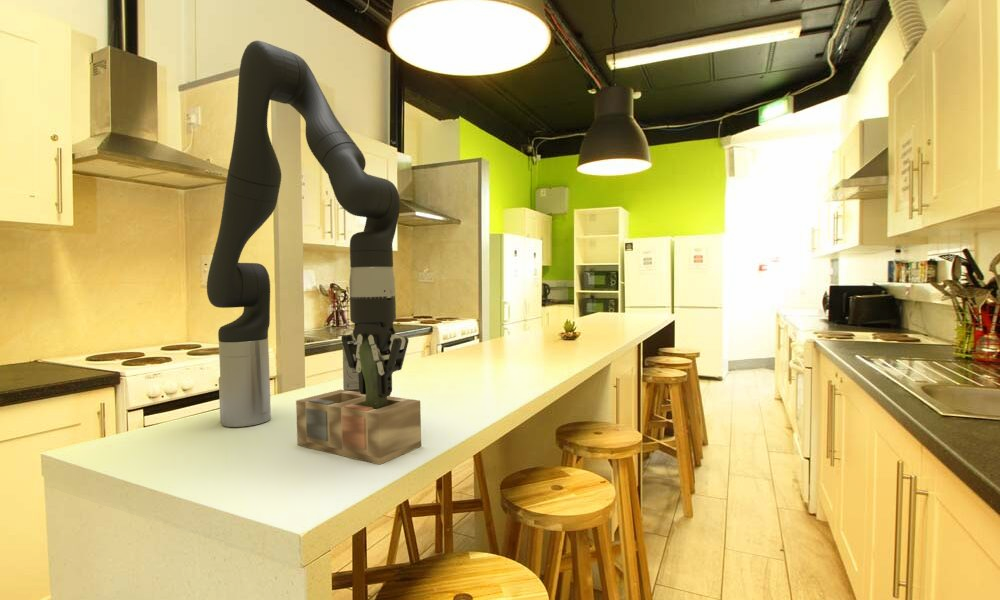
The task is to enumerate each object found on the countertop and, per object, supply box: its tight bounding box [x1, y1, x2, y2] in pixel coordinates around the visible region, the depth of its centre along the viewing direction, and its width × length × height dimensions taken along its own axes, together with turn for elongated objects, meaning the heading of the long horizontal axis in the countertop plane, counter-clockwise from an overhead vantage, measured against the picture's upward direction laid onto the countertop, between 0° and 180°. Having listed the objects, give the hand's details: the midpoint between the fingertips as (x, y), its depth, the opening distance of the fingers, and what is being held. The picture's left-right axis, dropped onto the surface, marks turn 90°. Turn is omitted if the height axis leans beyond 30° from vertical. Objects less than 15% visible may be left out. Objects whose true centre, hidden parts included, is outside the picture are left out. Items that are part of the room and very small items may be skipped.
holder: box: [295, 389, 422, 465], centre depth 88 cm, size 20×10×8 cm, turn 59°
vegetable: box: [359, 338, 387, 409], centre depth 86 cm, size 4×4×20 cm
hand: (375, 394), depth 86 cm, fingers closed on vegetable, 3 cm apart
